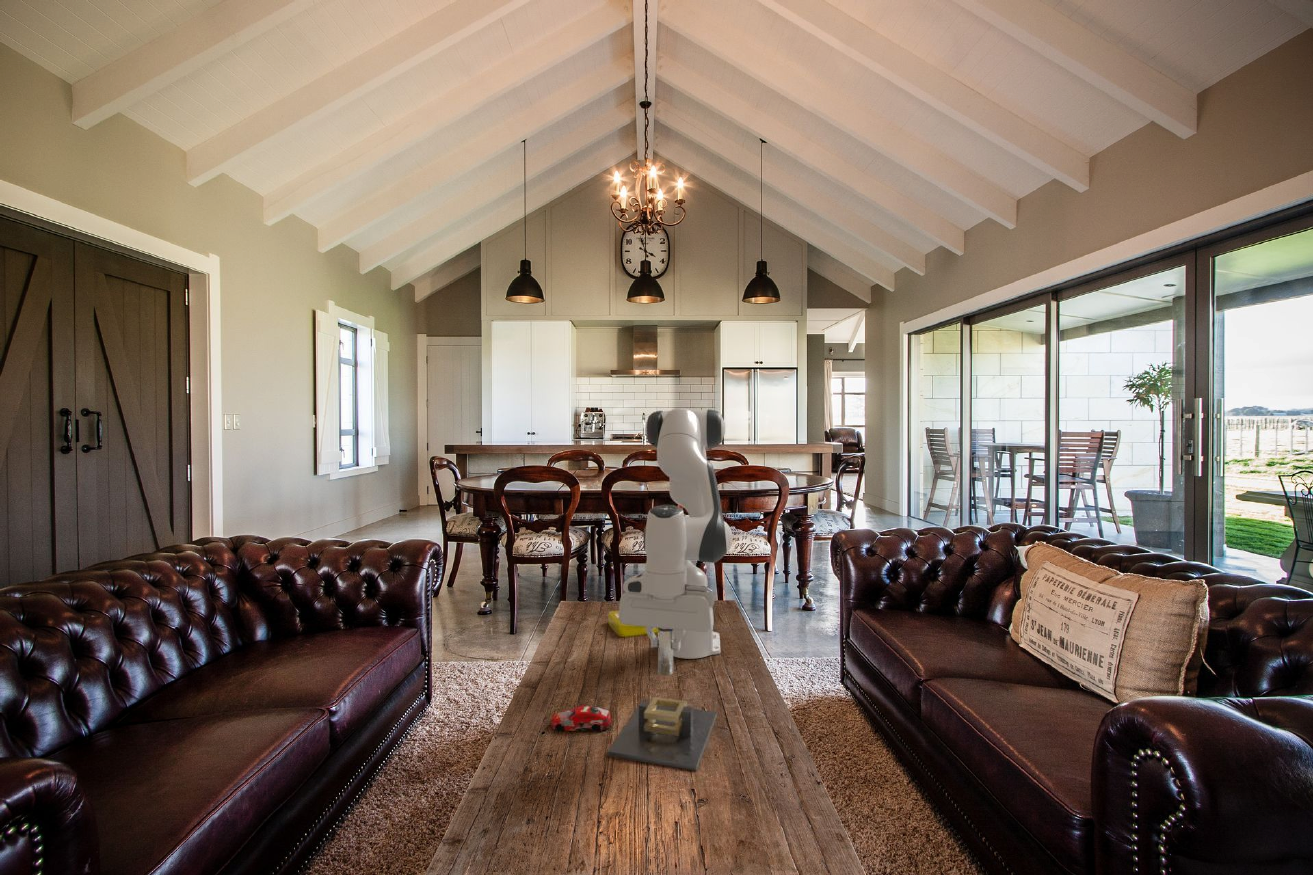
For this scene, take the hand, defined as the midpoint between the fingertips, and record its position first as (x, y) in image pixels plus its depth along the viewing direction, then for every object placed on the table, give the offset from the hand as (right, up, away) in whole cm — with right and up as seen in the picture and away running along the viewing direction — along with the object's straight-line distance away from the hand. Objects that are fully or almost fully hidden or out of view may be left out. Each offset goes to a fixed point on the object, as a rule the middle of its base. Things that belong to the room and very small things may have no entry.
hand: (665, 648), depth 125 cm
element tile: (-9, -18, +68) cm, 71 cm away
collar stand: (0, -19, 0) cm, 19 cm away
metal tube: (0, -5, 0) cm, 5 cm away
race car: (-19, -19, +5) cm, 27 cm away
